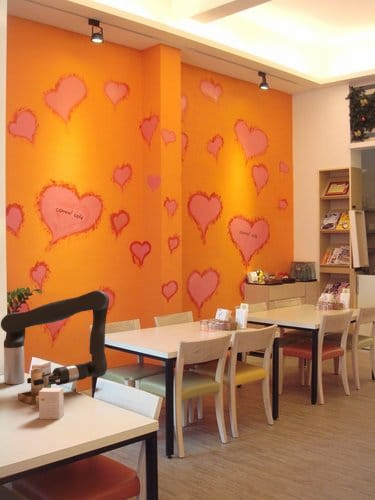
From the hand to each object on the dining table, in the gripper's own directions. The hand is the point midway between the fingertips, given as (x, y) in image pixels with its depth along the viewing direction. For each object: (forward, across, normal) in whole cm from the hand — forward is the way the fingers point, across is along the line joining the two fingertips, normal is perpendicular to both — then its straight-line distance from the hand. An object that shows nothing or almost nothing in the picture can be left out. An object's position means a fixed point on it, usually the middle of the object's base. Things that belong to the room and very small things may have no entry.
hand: (30, 382), depth 237 cm
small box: (+6, +26, +8) cm, 28 cm away
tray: (-3, 0, +8) cm, 8 cm away
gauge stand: (0, +12, +8) cm, 14 cm away
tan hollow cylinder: (-3, 0, +6) cm, 7 cm away
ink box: (-13, -14, +8) cm, 21 cm away
